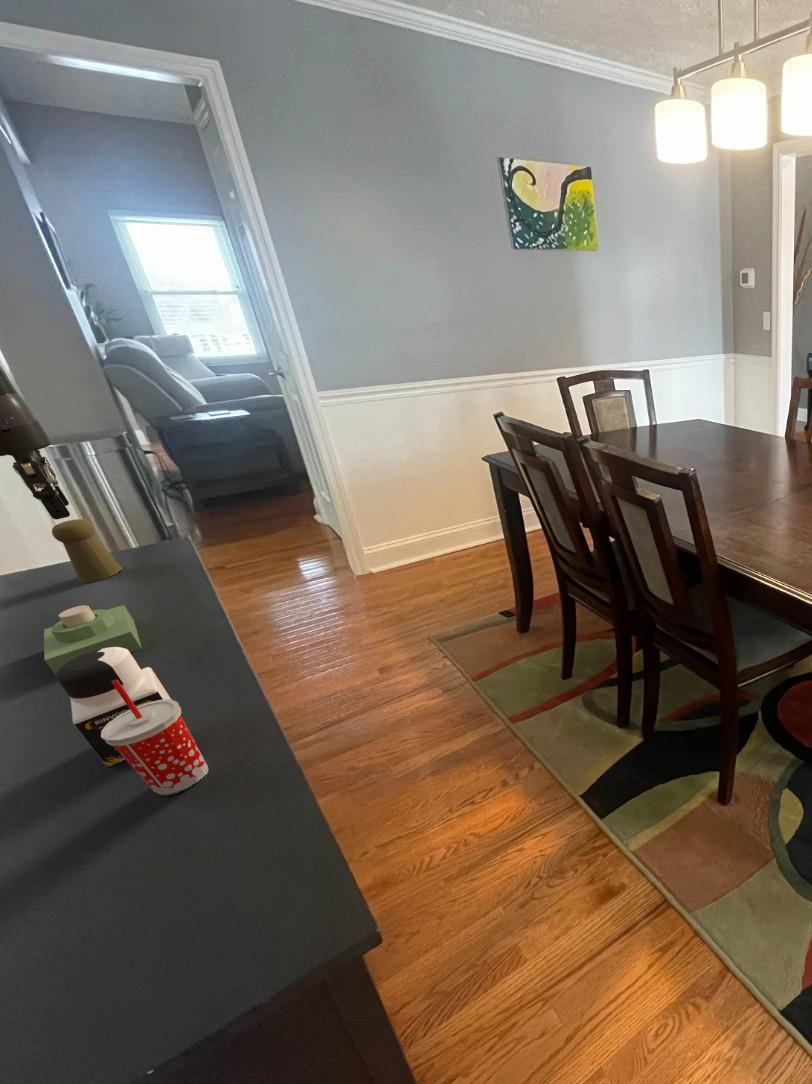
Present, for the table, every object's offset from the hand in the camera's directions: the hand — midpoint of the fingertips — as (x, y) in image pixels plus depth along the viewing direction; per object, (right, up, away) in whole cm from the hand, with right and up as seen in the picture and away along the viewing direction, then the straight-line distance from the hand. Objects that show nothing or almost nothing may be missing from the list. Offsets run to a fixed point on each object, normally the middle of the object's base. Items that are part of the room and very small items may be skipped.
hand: (62, 511), depth 107 cm
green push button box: (+24, -22, -16) cm, 37 cm away
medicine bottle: (+50, -31, -34) cm, 68 cm away
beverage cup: (+61, -34, -41) cm, 80 cm away
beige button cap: (+24, -18, -18) cm, 35 cm away
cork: (0, -12, +6) cm, 13 cm away
